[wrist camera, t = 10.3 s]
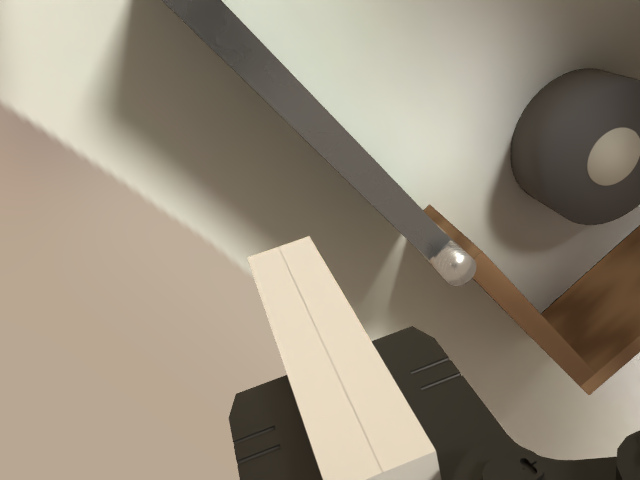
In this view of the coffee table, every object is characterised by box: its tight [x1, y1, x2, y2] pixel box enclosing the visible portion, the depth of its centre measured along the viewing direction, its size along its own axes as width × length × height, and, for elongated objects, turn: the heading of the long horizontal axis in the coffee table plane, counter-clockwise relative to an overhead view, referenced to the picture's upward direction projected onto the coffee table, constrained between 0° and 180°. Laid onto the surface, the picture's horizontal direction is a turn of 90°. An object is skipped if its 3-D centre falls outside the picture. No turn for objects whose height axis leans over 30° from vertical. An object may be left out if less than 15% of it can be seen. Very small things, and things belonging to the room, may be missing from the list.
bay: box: [424, 205, 640, 395], centre depth 32 cm, size 19×14×6 cm
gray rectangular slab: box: [162, 0, 476, 286], centre depth 25 cm, size 18×2×7 cm, turn 44°
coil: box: [511, 69, 640, 225], centre depth 32 cm, size 8×8×4 cm
